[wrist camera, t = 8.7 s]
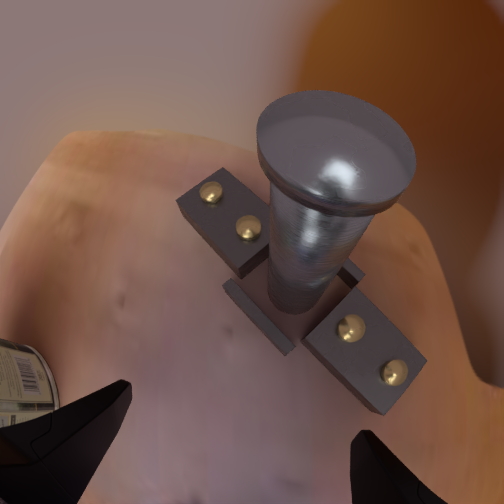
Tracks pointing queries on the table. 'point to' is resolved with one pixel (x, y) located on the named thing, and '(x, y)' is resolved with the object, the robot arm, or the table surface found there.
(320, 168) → the link pin
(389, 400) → the riveted post bracket
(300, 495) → the table surface
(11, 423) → the coffee can
